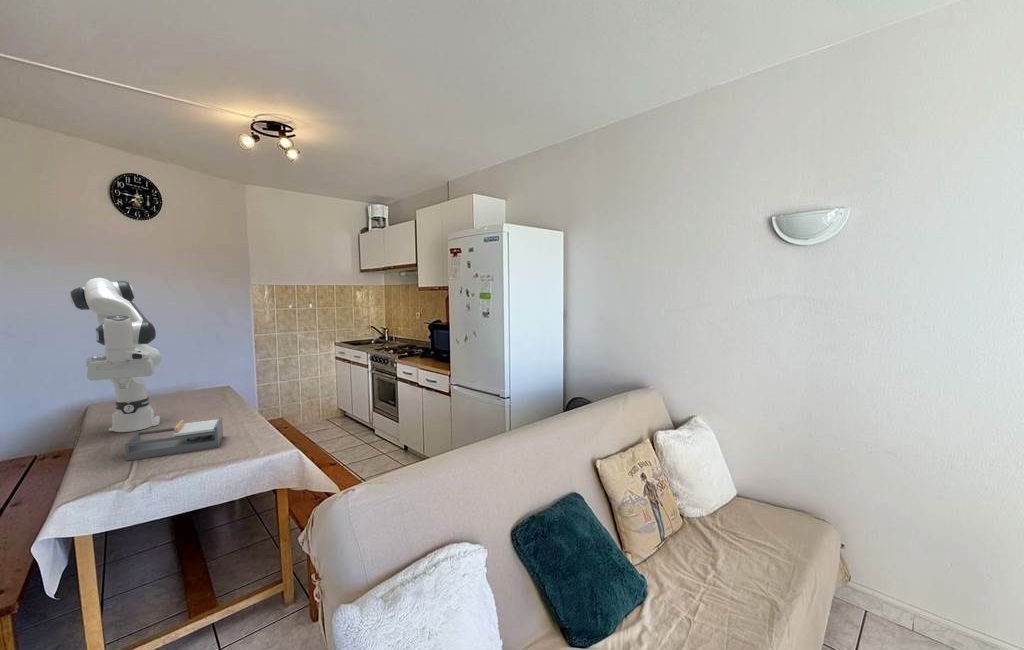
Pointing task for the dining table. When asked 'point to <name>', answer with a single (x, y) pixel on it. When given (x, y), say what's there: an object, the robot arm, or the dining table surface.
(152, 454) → the housing
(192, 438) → the teal rounded capsule
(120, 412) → the robot arm
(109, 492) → the dining table surface
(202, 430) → the lid
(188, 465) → the dining table surface
